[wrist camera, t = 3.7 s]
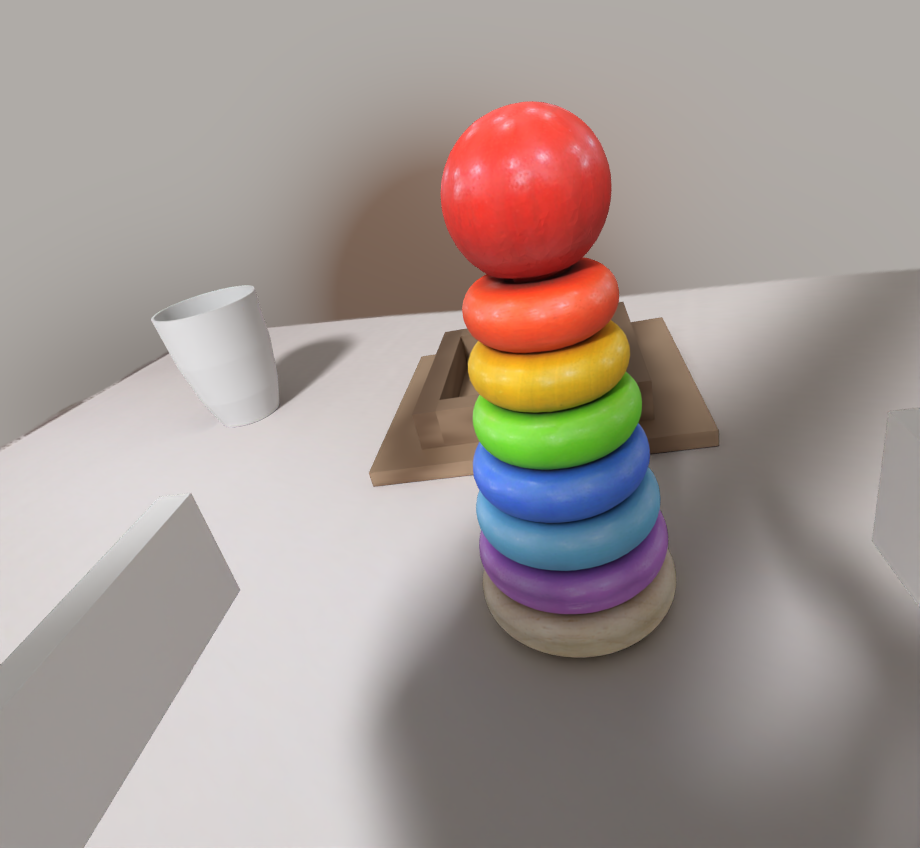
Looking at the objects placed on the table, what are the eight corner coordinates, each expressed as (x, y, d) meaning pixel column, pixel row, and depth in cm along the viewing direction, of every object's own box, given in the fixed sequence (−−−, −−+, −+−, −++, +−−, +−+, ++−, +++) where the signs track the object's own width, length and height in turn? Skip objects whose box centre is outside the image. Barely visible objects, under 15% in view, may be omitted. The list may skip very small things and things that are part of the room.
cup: (261, 387, 57) (218, 285, 53) (315, 395, 52) (274, 284, 48) (186, 429, 52) (132, 321, 47) (239, 443, 47) (184, 323, 43)
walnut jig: (662, 329, 48) (660, 286, 47) (718, 445, 33) (717, 388, 31) (424, 367, 52) (414, 329, 51) (373, 486, 37) (356, 437, 35)
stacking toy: (506, 692, 22) (355, 146, 14) (476, 554, 29) (363, 139, 21) (714, 638, 22) (693, 60, 14) (633, 514, 29) (586, 83, 21)
